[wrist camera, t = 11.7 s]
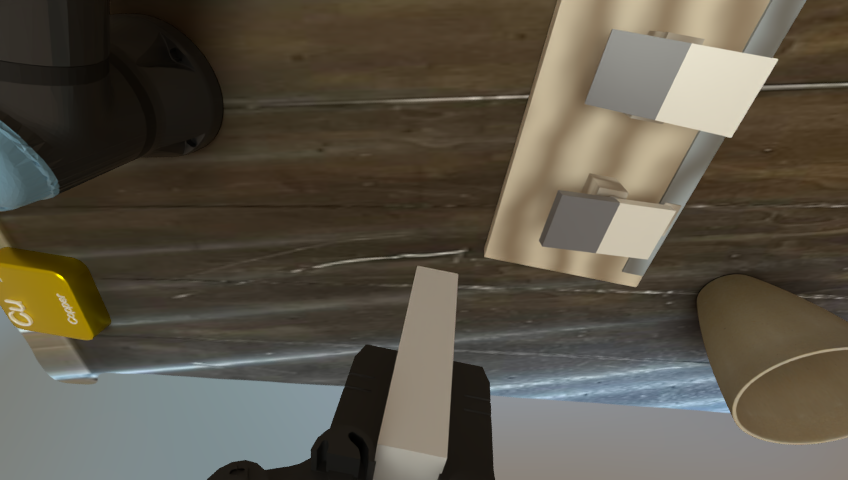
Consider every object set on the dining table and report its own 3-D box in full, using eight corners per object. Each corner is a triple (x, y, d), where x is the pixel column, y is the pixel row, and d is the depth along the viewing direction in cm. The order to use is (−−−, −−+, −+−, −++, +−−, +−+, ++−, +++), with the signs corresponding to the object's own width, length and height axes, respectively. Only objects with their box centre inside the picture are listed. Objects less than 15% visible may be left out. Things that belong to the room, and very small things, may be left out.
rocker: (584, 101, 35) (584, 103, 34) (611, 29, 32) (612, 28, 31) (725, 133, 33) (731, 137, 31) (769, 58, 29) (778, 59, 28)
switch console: (484, 248, 50) (485, 275, 45) (579, -73, 33) (598, -90, 27) (630, 277, 50) (648, 307, 45) (807, -31, 32) (869, -39, 27)
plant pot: (643, 294, 51) (704, 394, 38) (758, 227, 45) (883, 320, 31) (700, 352, 55) (774, 462, 42) (814, 299, 49) (946, 409, 35)
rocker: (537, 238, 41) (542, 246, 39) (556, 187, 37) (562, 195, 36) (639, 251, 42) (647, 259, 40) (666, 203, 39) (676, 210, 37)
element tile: (116, 325, 68) (93, 345, 64) (38, 312, 69) (10, 331, 65) (86, 257, 60) (58, 275, 56) (-2, 243, 61) (-36, 260, 57)
